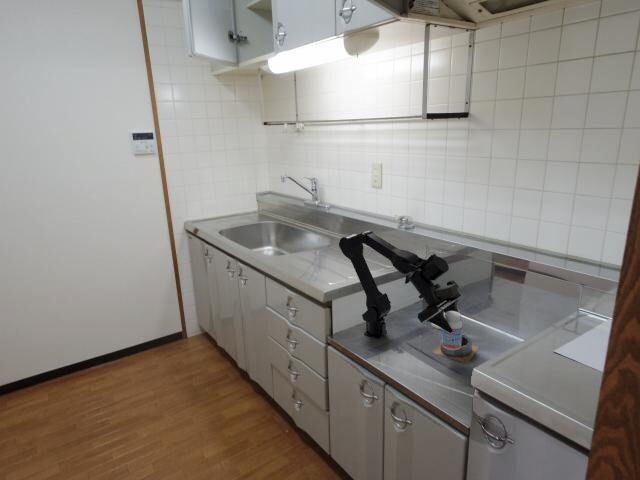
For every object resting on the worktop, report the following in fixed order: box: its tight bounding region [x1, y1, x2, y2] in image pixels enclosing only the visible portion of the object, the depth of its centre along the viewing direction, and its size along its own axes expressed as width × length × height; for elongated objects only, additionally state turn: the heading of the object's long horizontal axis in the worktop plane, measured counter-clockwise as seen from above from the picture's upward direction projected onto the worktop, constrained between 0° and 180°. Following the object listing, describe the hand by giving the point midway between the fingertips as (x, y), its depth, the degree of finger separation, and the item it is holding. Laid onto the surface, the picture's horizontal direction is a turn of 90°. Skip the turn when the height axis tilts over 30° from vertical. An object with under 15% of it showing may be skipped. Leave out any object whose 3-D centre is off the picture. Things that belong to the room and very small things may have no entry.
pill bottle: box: [441, 311, 463, 350], centre depth 127 cm, size 6×6×11 cm
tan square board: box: [431, 343, 480, 364], centre depth 136 cm, size 12×12×1 cm
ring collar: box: [439, 334, 473, 358], centre depth 135 cm, size 10×10×4 cm
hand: (456, 328), depth 126 cm, fingers closed on pill bottle, 6 cm apart
